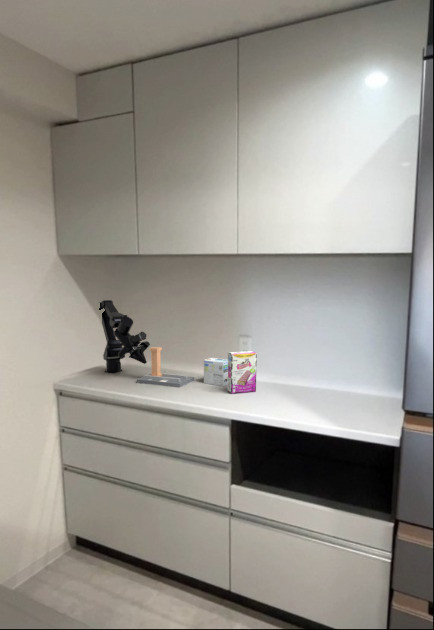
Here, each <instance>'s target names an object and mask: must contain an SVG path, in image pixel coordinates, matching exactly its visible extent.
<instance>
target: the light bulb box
mask: <svg viewBox="0 0 434 630" xmlns="http://www.w3.org/2000/svg"><path fill="white" fill-rule="evenodd" d="M203 383H204V384H209V385H215V386H221V387H225V386H228V358H225V359H224V358H216V357H209V358H206V359H203Z"/></svg>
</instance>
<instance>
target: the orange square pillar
mask: <svg viewBox="0 0 434 630" xmlns="http://www.w3.org/2000/svg"><path fill="white" fill-rule="evenodd" d="M162 350H163V348H162V346H152V347H149V352H150V353H151V354H150V355H151V356H150V358H151V360H150V362H151V364H150V366H151V373H150V374H151V376H162V374H161V373H162V371H161V370H162V369H161V368H162V367H161V366H162V363H161V358H162V357H161V351H162Z"/></svg>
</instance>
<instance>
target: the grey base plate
mask: <svg viewBox="0 0 434 630" xmlns="http://www.w3.org/2000/svg"><path fill="white" fill-rule="evenodd" d="M151 374H152V373H149V374H145V375H143V376H142V377H139V378H136V383H138V384H147V385H154V386H155V385H156V386H163V387H174V388H182V387H183V386H185V385H187V384H189V383H192V382H193V381H195V376H189V375H186V374H175V373H174V374H173V373H166V372H165V373H164V372H161V374H162V376H151Z"/></svg>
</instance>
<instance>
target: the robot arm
mask: <svg viewBox="0 0 434 630" xmlns="http://www.w3.org/2000/svg"><path fill="white" fill-rule="evenodd" d="M99 303H100V308H99V310H101V309H103V308H104V309H105V311H104V312H103V313H102V322H101V325H102V329H103V332H104V336H105V339H106V340H105V341H106V345H105V348H104V352H103V354H102V358H103V360H104V361H106V363H105V365H106V366H105V368H106V369H105V370H104V372H105V373H111V374H112V373H113V374H115V373H119V372H121V371H123V369H122V362H121V360H123V359H124V358H126V354H129V356H128V358H130V359H133V360H135V361H137V362H140V363H142V364H144V365H145V364H147V362H148V361H147V359H146V356H145V353H144V352H145V351H146V350H147V349H148V348H150V346H151V343H150V342H149V341H147V333H146V332H144V331H140V332H138V333H137V334H135V335H134V334H132V335H131V334H130V331H131V329H132V326H133V325H134V320H133V319H132V318H131V317H129V316H128V315H127V314H123V313H121V312H119V311H118V309H117V308H116V306H115V305H114V302H113V300H111V299H103V300H101V302H100V301H99ZM114 329H115V330H114ZM144 340H145V341H144Z"/></svg>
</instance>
